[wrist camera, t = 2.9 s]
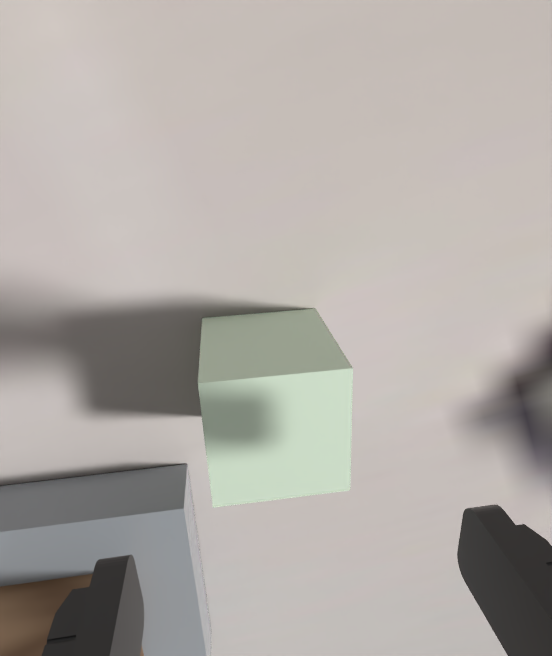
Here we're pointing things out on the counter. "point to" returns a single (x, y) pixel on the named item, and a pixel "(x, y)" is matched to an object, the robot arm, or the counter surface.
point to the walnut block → (33, 613)
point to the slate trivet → (115, 544)
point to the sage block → (274, 407)
